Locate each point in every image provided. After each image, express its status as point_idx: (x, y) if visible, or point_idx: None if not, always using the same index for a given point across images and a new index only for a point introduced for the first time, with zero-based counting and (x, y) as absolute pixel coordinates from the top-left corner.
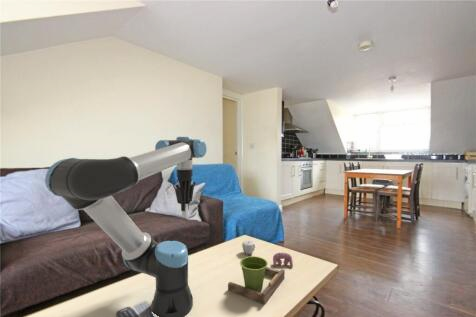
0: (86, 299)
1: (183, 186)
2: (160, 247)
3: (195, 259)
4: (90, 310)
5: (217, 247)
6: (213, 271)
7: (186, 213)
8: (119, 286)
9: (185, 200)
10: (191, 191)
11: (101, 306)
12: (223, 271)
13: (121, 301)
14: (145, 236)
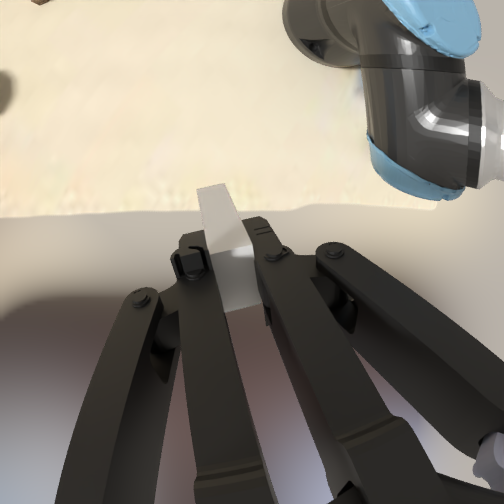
0: (406, 200)
1: (434, 496)
2: (473, 30)
3: (123, 177)
4: None
5: (21, 207)
6: (131, 60)
7: (223, 197)
8: (357, 196)
9: (272, 281)
10: (120, 433)
11: None
12: (108, 39)
13: None
14: (498, 118)
